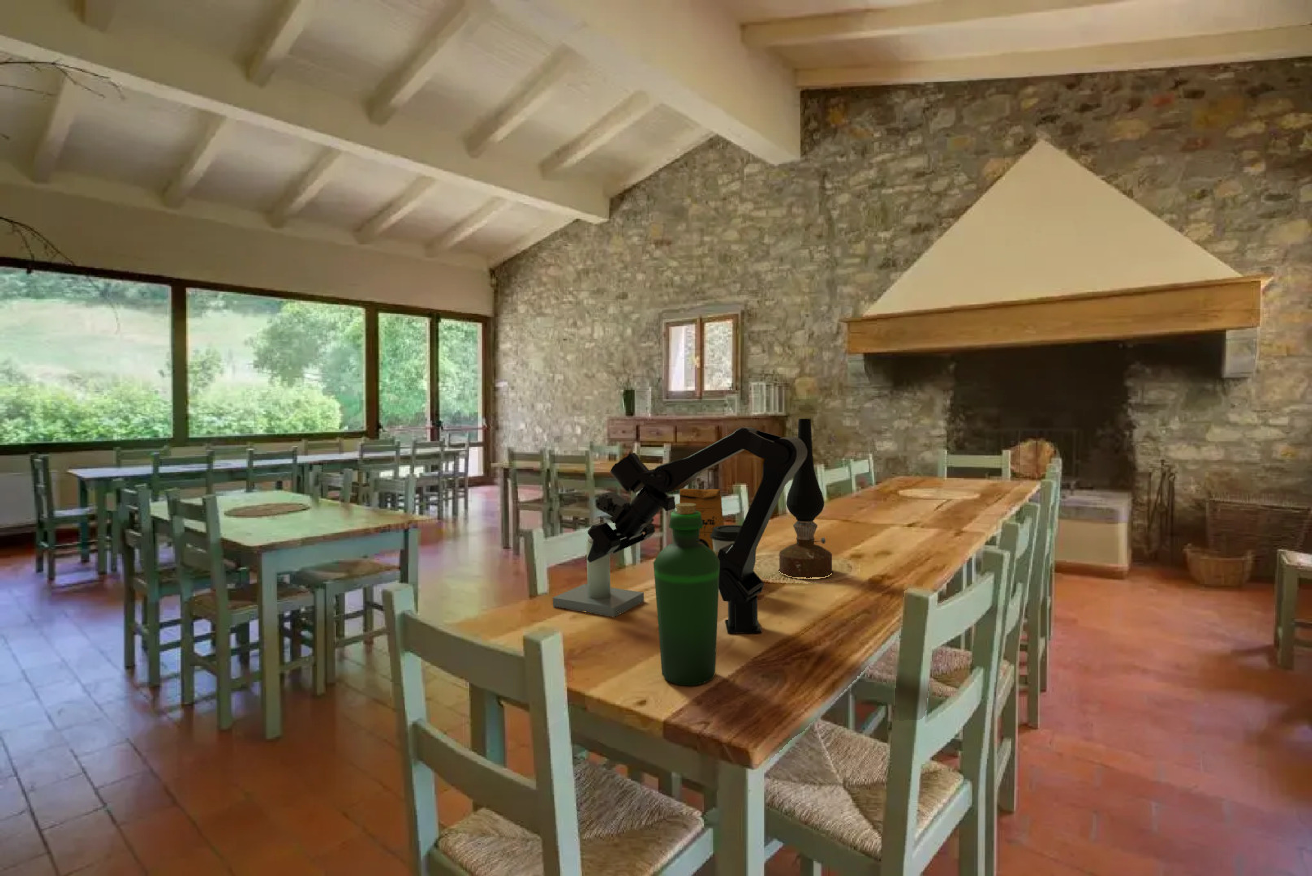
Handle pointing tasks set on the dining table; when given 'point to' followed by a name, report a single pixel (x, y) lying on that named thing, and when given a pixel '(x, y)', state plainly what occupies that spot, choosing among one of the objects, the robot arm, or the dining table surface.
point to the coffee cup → (724, 537)
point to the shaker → (598, 575)
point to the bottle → (687, 601)
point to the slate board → (599, 601)
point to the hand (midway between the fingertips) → (601, 555)
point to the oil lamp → (805, 518)
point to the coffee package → (705, 510)
